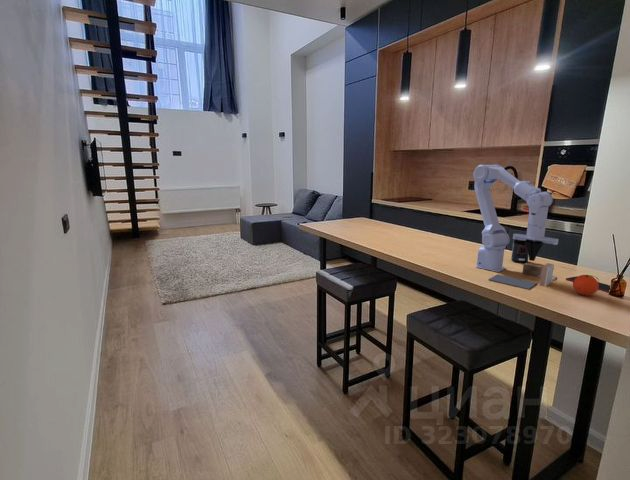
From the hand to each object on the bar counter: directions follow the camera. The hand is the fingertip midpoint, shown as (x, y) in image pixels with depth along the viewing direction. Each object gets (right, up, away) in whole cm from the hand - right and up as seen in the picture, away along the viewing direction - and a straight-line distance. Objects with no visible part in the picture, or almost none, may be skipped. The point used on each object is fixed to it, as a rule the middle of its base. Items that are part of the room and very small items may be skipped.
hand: (532, 260), depth 133 cm
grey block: (+7, -7, +6) cm, 11 cm away
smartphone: (+20, -9, -3) cm, 22 cm away
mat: (-8, -8, -1) cm, 11 cm away
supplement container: (+11, -2, +27) cm, 29 cm away
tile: (+4, -9, -2) cm, 10 cm away
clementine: (+10, -11, -13) cm, 20 cm away
